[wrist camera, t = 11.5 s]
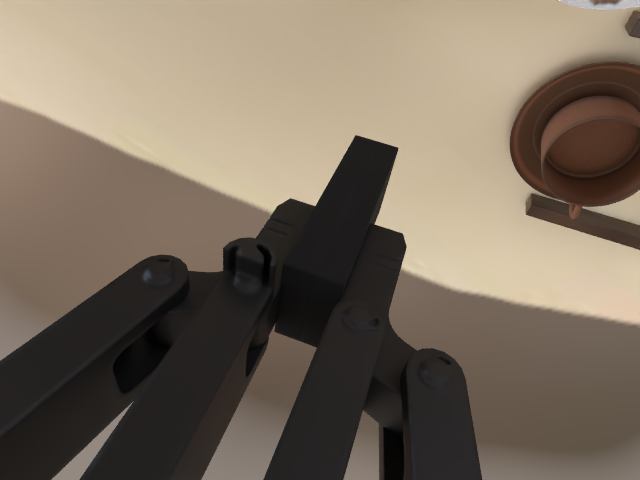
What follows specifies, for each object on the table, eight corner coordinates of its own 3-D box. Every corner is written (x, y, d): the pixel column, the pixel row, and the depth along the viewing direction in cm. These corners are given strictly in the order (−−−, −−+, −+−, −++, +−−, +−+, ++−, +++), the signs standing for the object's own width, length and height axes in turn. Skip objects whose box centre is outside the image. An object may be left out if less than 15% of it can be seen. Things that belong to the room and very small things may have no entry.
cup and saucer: (678, 176, 38) (699, 219, 33) (522, 200, 43) (522, 239, 39) (678, 31, 32) (703, 59, 27) (498, 81, 38) (494, 111, 33)
